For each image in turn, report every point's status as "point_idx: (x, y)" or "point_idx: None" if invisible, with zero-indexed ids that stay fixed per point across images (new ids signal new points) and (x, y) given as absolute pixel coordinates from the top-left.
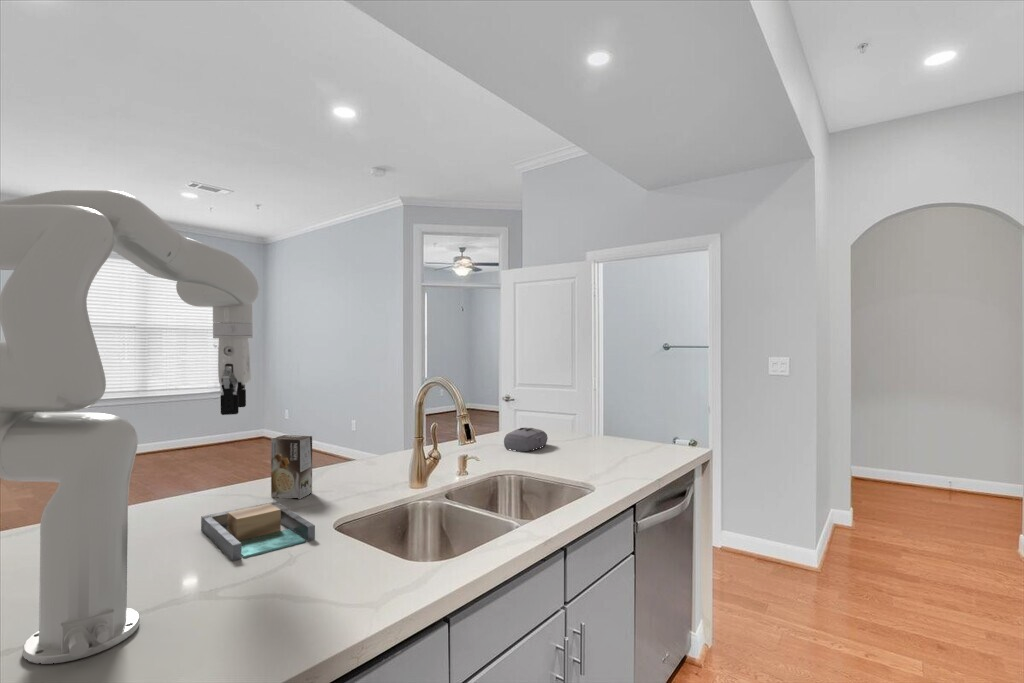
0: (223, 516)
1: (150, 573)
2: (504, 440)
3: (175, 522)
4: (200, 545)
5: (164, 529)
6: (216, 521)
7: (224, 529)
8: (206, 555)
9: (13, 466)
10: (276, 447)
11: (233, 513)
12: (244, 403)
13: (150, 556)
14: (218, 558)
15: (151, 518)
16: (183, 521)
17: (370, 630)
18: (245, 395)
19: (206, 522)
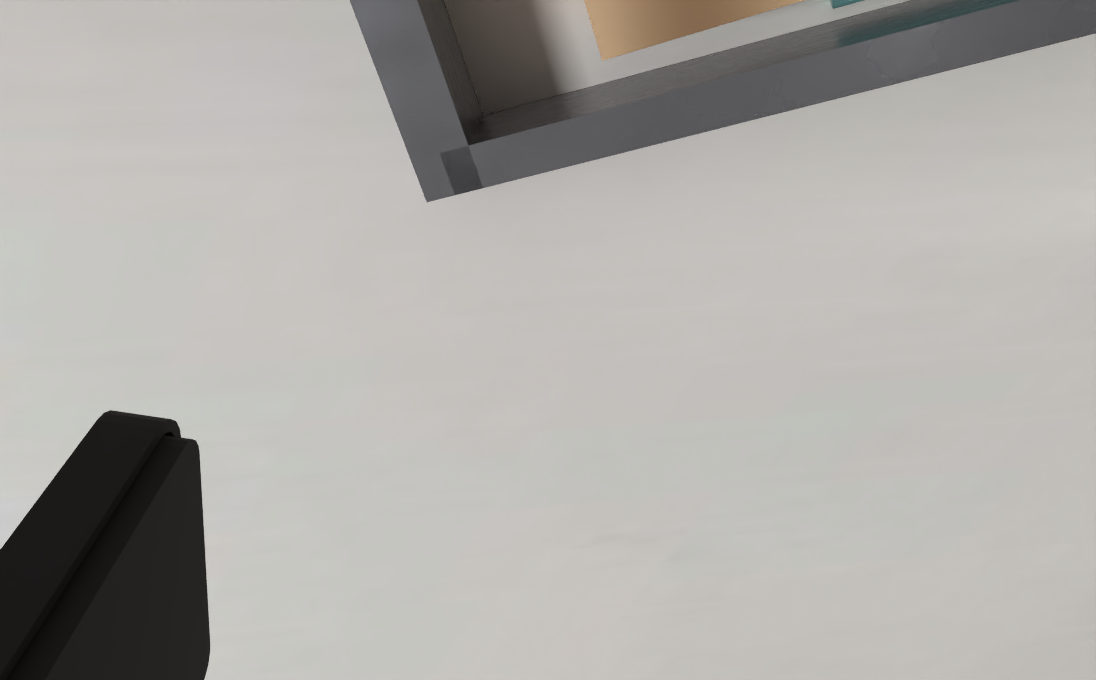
0: (444, 68)
1: (1018, 352)
2: None
3: (245, 297)
4: (734, 163)
5: (356, 338)
6: (463, 102)
7: (803, 63)
8: (931, 129)
9: None
10: None
11: (650, 21)
12: (164, 486)
13: (769, 367)
14: (1029, 66)
15: (133, 403)
16: (239, 261)
17: None
18: (17, 644)
19: (553, 167)
